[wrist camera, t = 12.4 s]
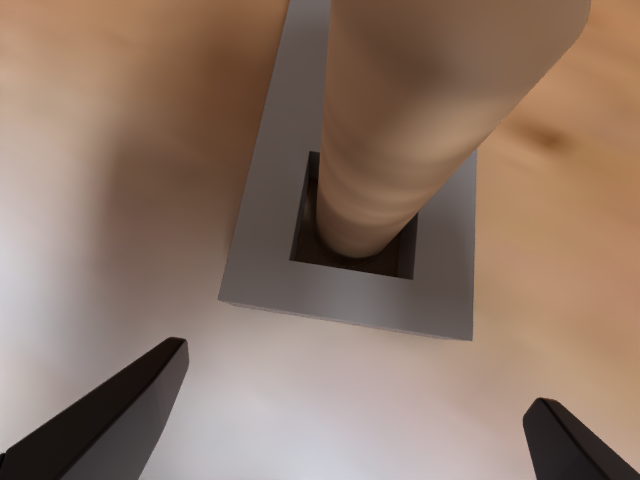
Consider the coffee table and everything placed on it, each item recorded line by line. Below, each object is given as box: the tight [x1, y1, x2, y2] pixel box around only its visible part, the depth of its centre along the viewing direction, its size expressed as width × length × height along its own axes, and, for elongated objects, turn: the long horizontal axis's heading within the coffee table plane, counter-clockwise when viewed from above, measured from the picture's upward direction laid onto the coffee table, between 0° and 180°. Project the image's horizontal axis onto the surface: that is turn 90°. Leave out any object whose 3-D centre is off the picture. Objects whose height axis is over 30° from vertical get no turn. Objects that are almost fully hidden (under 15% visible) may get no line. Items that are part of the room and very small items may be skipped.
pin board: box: [218, 0, 477, 341], centre depth 11 cm, size 20×11×16 cm, turn 171°
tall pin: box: [315, 0, 591, 266], centre depth 11 cm, size 4×4×14 cm
